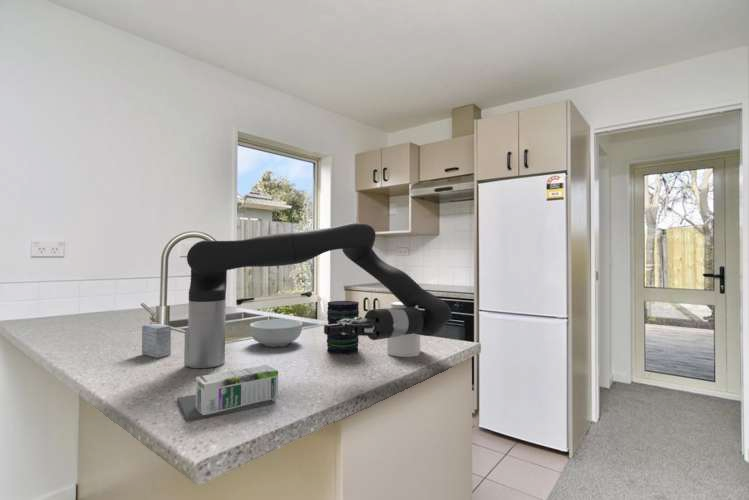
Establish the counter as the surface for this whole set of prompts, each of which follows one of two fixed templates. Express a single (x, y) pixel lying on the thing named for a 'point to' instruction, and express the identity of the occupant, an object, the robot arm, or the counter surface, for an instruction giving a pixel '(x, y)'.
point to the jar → (403, 341)
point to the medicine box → (156, 340)
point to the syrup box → (235, 389)
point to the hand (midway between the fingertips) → (325, 330)
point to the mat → (193, 414)
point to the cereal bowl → (275, 331)
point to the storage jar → (339, 341)
